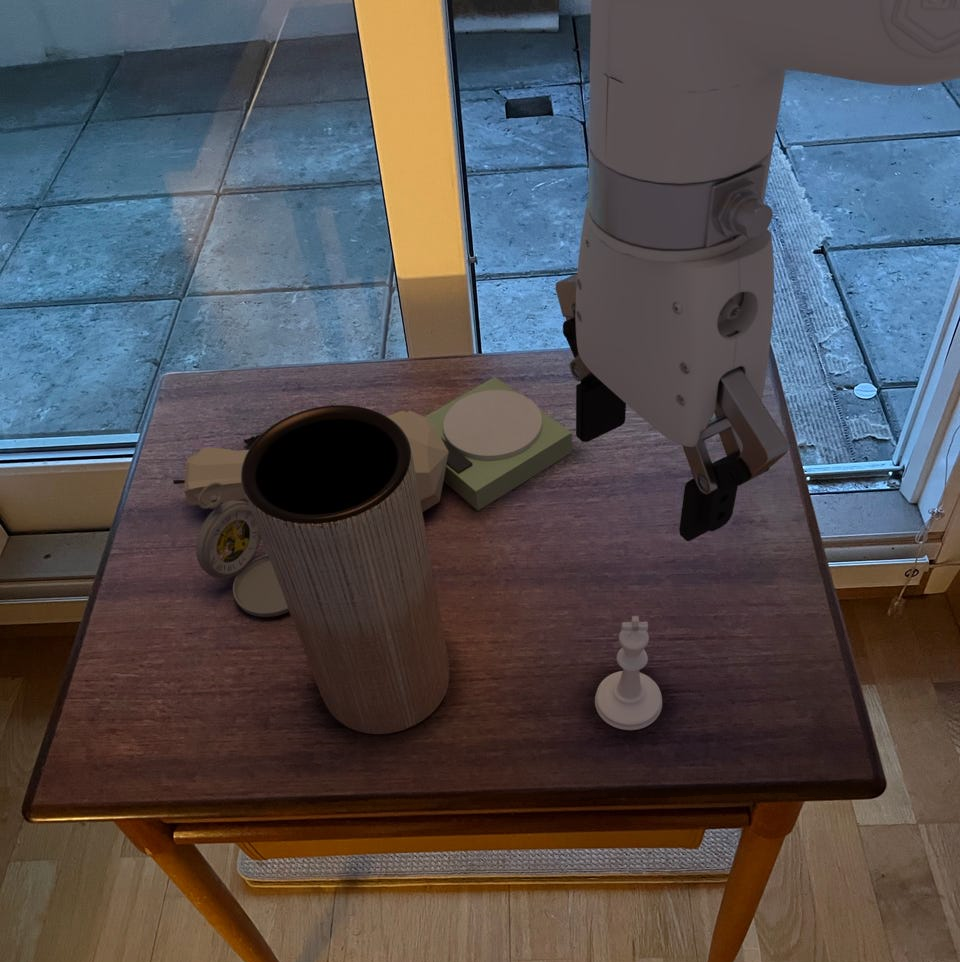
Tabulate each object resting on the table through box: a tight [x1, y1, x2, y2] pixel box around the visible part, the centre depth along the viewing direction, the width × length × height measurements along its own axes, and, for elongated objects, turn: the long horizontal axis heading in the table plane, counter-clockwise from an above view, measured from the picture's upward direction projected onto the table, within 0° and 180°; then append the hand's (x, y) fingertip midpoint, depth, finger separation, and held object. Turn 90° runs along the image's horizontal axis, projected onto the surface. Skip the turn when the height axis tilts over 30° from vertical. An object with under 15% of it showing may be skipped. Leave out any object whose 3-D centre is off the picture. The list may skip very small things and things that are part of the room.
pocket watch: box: [195, 482, 290, 618], centre depth 76 cm, size 8×8×10 cm
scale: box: [424, 376, 573, 511], centre depth 87 cm, size 11×11×3 cm
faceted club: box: [173, 409, 449, 513], centre depth 83 cm, size 9×8×25 cm
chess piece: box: [594, 615, 663, 731], centre depth 66 cm, size 5×5×10 cm
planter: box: [241, 404, 450, 735], centre depth 64 cm, size 10×10×23 cm
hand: (650, 477), depth 54 cm, fingers open, 9 cm apart
